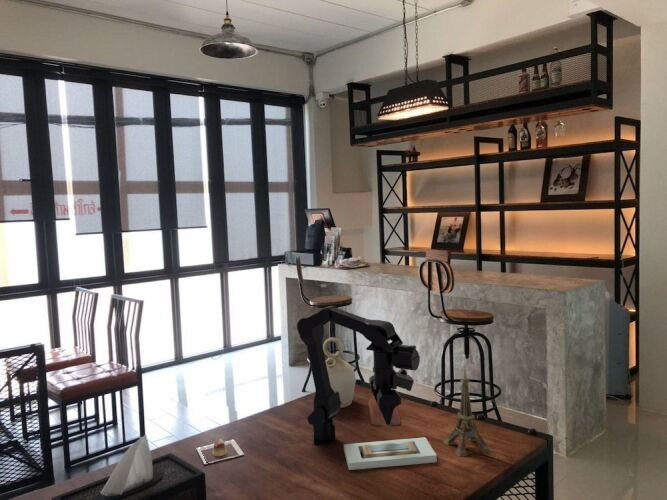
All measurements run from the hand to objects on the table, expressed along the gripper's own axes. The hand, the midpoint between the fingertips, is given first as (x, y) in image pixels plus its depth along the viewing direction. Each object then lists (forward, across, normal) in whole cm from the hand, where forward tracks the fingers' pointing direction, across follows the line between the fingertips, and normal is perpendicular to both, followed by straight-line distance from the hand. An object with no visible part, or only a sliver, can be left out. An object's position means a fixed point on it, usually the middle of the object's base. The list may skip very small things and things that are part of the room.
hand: (385, 418), depth 158 cm
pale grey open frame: (+11, -2, 0) cm, 11 cm away
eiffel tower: (+11, +1, -24) cm, 27 cm away
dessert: (+12, +10, +50) cm, 52 cm away
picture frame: (+11, -2, -1) cm, 11 cm away
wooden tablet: (+12, +33, -5) cm, 35 cm away
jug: (+11, +44, +11) cm, 47 cm away
